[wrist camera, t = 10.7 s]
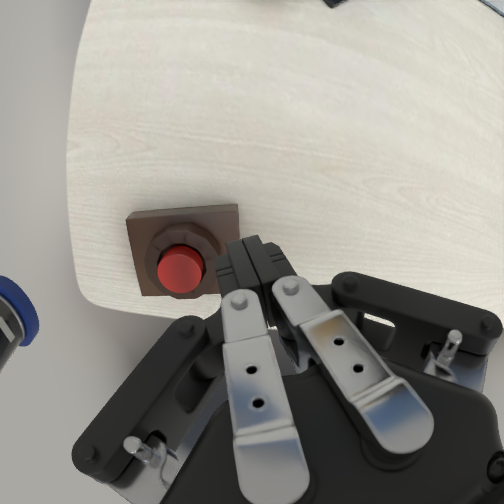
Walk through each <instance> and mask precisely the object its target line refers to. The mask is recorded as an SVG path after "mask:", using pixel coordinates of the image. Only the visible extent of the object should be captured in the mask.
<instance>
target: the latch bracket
mask: <svg viewBox="0 0 504 504" xmlns="http://www.w3.org/2000/svg"><path fill="white" fill-rule="evenodd" d="M323 1H324V2H325V3H326V4H327V5H328V6H329V7H330V8H333V7H335V6H337V5H339V4H341V3H343V2H345V1H347V0H323Z"/></svg>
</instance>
